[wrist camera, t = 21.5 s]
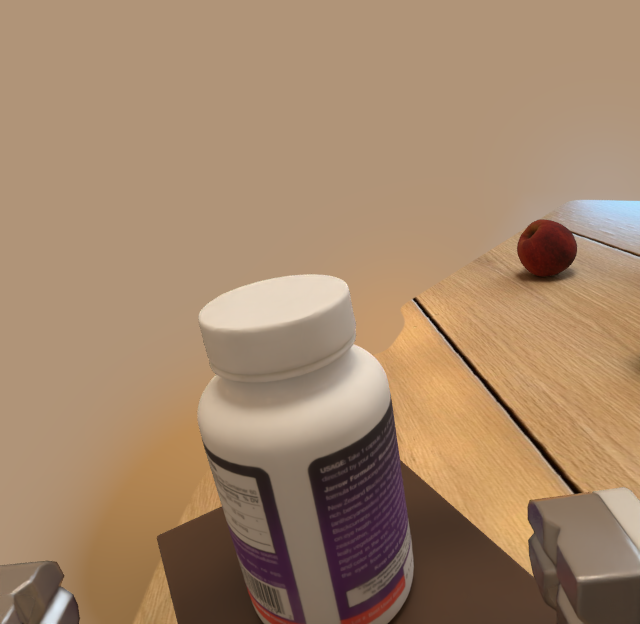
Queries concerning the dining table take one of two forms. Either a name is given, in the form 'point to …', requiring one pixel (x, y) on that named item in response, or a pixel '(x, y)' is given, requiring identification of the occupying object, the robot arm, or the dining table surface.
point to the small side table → (427, 584)
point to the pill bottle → (305, 454)
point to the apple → (546, 248)
